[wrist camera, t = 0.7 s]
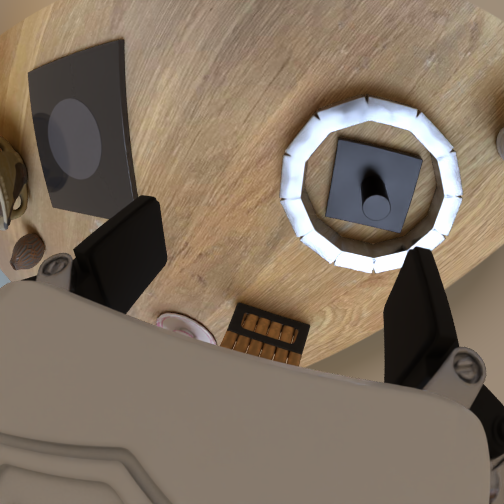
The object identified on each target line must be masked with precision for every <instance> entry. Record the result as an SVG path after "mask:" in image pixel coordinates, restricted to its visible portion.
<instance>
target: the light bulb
mask: <svg viewBox="0 0 504 504" xmlns="http://www.w3.org/2000/svg"><path fill="white" fill-rule="evenodd" d="M497 150H498V153H499V155H500V156H501V158H502V159H503V160H504V128H502V129H501V130H500V132H499V134H498V136H497Z"/></svg>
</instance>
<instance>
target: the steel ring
mask: <svg viewBox="0 0 504 504" xmlns="http://www.w3.org/2000/svg"><path fill="white" fill-rule="evenodd" d="M369 120H370V121H374V122H378V123H382V124H386V125H390V126H394V127H398V128H401V129H405V130H408V131H410V132H411V133H412V134H413V135H414V136H415V137H416V138H417V139H418V140H419V141H420V142H421V143H422V144H423V145H424V146H425V147H426V148H427V149H428V150H429V152H430V155H431V159H432V163H433V168H434V172H435V177H436V182H437V188H436V191H435V194H434V197H433V200H432V203H431V206H430V209H429V212H428V214H427V216H426V217H425V218H424V219H423V220H422V221H421V222H420V223H418V224H417V225H416V226H415V227H414V228H413V229H412V230H410V231H409V232H408V233H407V234H406V235H405V236H403V237H399V238H395V239H391V240H387V241H383V242H379V243H374V244H372V243H367V242H363V241H358V240H354V239H349V238H345V237H342V236H340V235H339V234H338V233H337V232H335V231H334V230H333V229H332V228H330V227H329V226H328V225H327V224H325V223H324V222H323V221H322V220H320V219H319V218H318V217H317V215H316V213H315V211H314V208H313V206H312V204H311V201H310V199H309V197H308V194H307V192H306V190H305V188H304V187H305V180H306V172H307V164H308V159H309V158H310V156H311V155H312V154H313V153H314V152H315V150H316V149H317V148H318V147H319V146H320V144H321V143H322V142H323V141H324V140H325V138H326V137H327V136H328V135H329V134H330V133H331V132H334V131H337V130H340V129H343V128H346V127H350V126H353V125H356V124H359V123H362V122H366V121H369ZM453 148H454V147H453V146H452V145H451V143H450V142H449V141H448V140H447V139H446V138H445V136H444V135H443V134H442V133H441V132H440V131H439V130H438V129H437V127H436V126H435V125H434V124H433V123H432V122H431V121H430V120H429V119H428V118H427V117H426V116H425V115H424V114H423V113H422V112H421V111H419V110H418V109H416V108H414V107H412V106H411V105H407V104H404V103H400V102H397V101H393V100H389V99H385V98H381V97H377V96H373V95H369V94H366V98H365V97H364V96H363V95H362V94H361V95H358V96H354V97H351V98H348V99H345V100H342V101H339V102H336V103H333V104H330V105H327V106H325V107H322V108H319V110H318V111H315V112H314V114H313V115H312V116H311V117H310V119H309V120H308V121H307V122H306V124H305V125H304V126H303V128H302V129H301V130H300V131H299V133H298V134H297V135H296V137H295V138H294V139H293V140H292V142H291V143H290V144H289V146H288V147H287V148H286V150H285V153H284V155H283V161H282V173H281V184H280V194H279V197H280V198H281V200H280V202H281V204H282V206H283V208H284V211H285V213H286V215H287V217H288V219H289V221H290V223H291V225H292V227H293V229H294V232H295V234H296V236H297V237H300V241H301V242H303V243H304V244H305V245H307V246H308V247H309V248H311V249H312V250H313V251H315V252H316V253H317V254H318V255H320V256H321V257H322V258H324V259H325V260H326V261H328V262H329V263H330V264H331V263H332V262H333V261H334V265H335V266H339V267H344V268H349V269H353V270H358V271H362V272H367V273H372V272H373V269H374V272H375V273H380V272H384V271H389V270H393V269H398V268H401V267H402V265H403V262H404V260H405V257H406V255H407V252H408V250H409V249H413V248H414V247H415V246H418V247H423V248H427V249H430V250H431V251H432V250H433V249H434V248H436V247H437V246H438V245H439V244H440V243H442V242H443V241H444V240H445V239H446V238H445V236H444V235H446V236H448V235H449V232H450V230H451V228H452V225H453V223H454V220H455V218H456V215H457V213H458V210H459V207H460V205H461V202H462V199H463V198H462V197H461V195H463V190H462V183H461V177H460V171H459V166H458V160H457V155H456V151H455V150H453Z"/></svg>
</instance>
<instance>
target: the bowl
mask: <svg viewBox="0 0 504 504" xmlns="http://www.w3.org/2000/svg"><path fill="white" fill-rule="evenodd" d="M0 148H1V150H2V151H0V230H7V229H8V226H9V225H10V222H11V220H13V219H16V218H18V217H20V216H21V215H23V214H24V212H25V211H26V208H27V203H28V193H27V187H26V184H27V171H26V168H25V165H24V163H23V160H22V158H21V157H20V155H19V154H18V153H17V152H15V151H14V149H13V148H12V146H11V145H10V143H9V142H8V141H7V140H6V139H4V138H3V137H1V136H0ZM18 196H20V198H21V205H20V207H19V208H18V209H16V210H13V206H14V203H15V201H16V199H17V197H18Z"/></svg>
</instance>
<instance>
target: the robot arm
mask: <svg viewBox="0 0 504 504" xmlns="http://www.w3.org/2000/svg"><path fill="white" fill-rule="evenodd" d="M73 250H74V253H75V256H76V258H75V259H74V260H73V259H72V257H71V255H69V254H67V253H59V254H55V255H52V256H51V257H49V258H47V259H46V260H45V261H44V262H43V263H42V264H41V265H40V268H39V270H38V274H37V276H33V277H30V278H27V279H24V280H21V281H14V282H10V283H8V284H6V285H4V286H3V287H1V288H0V504H504V406H503V405H502V403H501V402H500V401H499V400H498V399H497V398H496V397H495V396H494V395H493V394H492V393H491V391H490V390H488V388H487V387H486V386H485V385H484V384H483V383H484V381H485V378H486V367H485V364H484V362H483V360H482V358H481V357H480V356H479V355H478V354H477V352H475V351H474V350H472V349H470V348H467V347H459V343H458V339H457V334H456V330H455V326H454V322H453V318H452V315H451V310H450V307H449V303H448V300H447V296H446V293H445V290H444V287H443V284H442V281H441V278H440V275H439V272H438V269H437V266H436V263H435V260H434V257H433V254H432V252H431V250H430V249H427V248H423V247H418V246H415V247H414V248H413V249H409V250H408V252H407V255H406V257H405V260H404V262H403V265H402V267H401V270H400V272H399V275H398V277H397V279H396V282H395V284H394V286H393V288H392V291H391V293H390V295H389V297H388V300H387V302H386V304H385V307H384V312H383V317H384V346H385V347H384V348H385V374H384V375H385V377H384V383H383V382H377V381H371V380H364V379H359V378H353V377H348V376H343V375H338V374H333V373H327V372H322V371H317V370H312V369H307V368H303V367H299V366H294V365H290V364H286V363H281V362H277V361H273V360H269V359H265V358H261V357H257V356H254V355H250V354H246V353H242V352H239V351H235V350H231V349H228V348H224V347H221V346H218V345H214V344H211V343H208V342H204V341H201V340H198V339H195V338H192V337H188V336H185V335H182V334H179V333H176V332H173V331H170V330H167V329H164V328H162V327H159V326H156V325H153V324H150V323H147V322H145V321H142V320H139V319H137V318H134V317H131V316H129V315H126V313H127V312H128V311H129V309H130V308H131V307H132V306H133V304H134V303H135V302H136V300H137V299H138V298H139V297H140V295H141V294H142V293H143V292H144V290H145V289H146V288H147V287H148V285H149V284H150V283H151V282H152V281H153V279H154V278H155V277H156V276H157V274H158V273H159V272H160V271H161V270H162V268H163V267H164V266H165V264H166V262H167V252H166V245H165V239H164V232H163V225H162V218H161V210H160V204H159V202H158V201H157V200H156V198H155V197H151V196H144V195H141V196H139V197H138V198H136V199H135V200H134V201H132V202H131V203H130V204H128V205H127V206H126V207H124V208H123V209H122V210H121V211H119V212H118V213H117V214H115V215H114V216H113V217H112V218H110V219H109V220H108V221H107V222H105V223H104V224H103V225H102V226H100V227H99V228H98V229H97V230H96V231H94V232H93V233H92V234H91V235H90V236H88V237H87V238H86V239H85V240H84V241H82V242H81V243H80V244H79V245H78V246H77V247H75V248H74V249H73Z"/></svg>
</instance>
